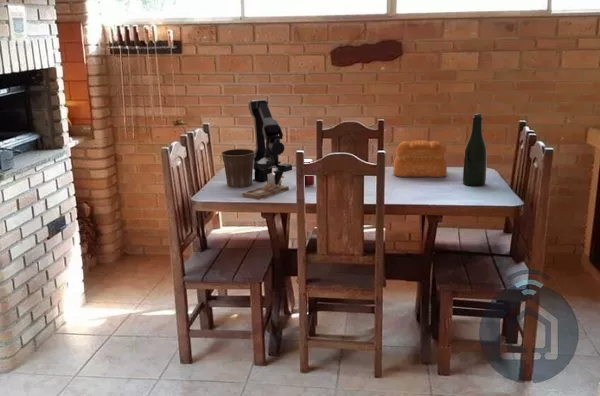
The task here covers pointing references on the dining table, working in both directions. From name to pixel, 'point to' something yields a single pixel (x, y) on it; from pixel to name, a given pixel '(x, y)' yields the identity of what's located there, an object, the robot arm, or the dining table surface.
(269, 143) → the robot arm
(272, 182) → the grey metal piece
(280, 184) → the keeper hook
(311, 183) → the soda can
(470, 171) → the green wine bottle
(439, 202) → the dining table surface
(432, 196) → the dining table surface
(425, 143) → the bread
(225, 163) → the plant pot
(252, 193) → the board
